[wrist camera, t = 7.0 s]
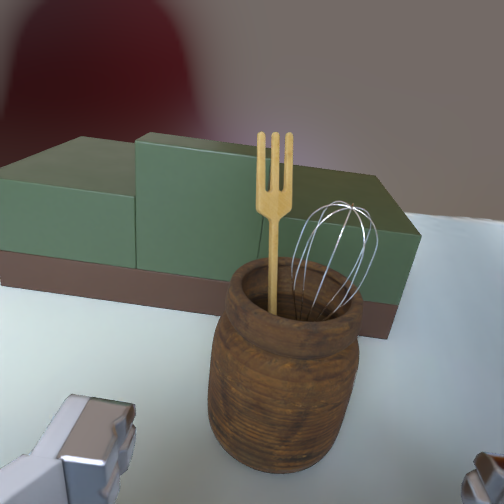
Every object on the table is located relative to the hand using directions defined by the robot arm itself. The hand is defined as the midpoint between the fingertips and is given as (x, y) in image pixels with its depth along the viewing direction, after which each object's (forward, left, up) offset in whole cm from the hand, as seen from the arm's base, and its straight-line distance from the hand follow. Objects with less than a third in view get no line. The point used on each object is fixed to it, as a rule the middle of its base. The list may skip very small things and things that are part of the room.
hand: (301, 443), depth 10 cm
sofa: (+5, -19, -7) cm, 21 cm away
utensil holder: (0, -6, -7) cm, 9 cm away
